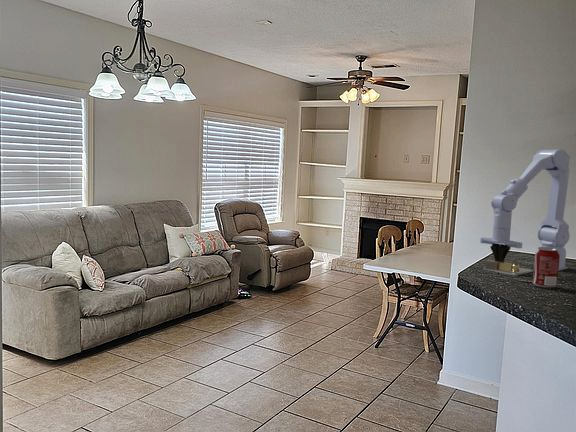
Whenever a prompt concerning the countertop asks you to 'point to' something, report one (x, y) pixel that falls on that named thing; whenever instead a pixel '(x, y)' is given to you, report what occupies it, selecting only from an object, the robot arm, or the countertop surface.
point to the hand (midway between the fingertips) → (499, 265)
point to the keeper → (493, 266)
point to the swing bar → (507, 266)
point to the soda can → (546, 267)
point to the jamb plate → (521, 271)
